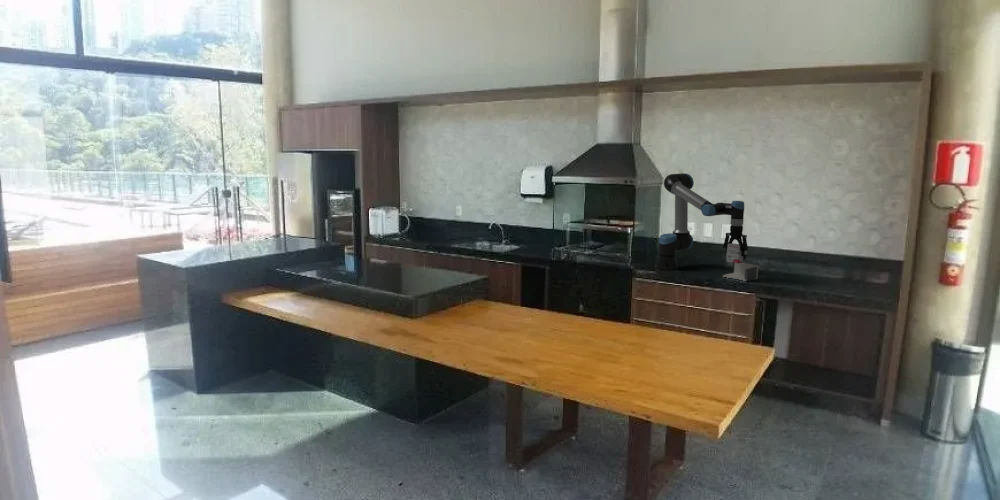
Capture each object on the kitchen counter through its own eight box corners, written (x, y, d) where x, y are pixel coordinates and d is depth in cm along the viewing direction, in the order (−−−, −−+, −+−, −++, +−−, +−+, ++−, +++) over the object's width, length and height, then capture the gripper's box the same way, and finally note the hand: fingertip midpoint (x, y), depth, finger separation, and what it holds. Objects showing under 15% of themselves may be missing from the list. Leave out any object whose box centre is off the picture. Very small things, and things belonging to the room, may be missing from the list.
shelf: (722, 277, 375) (723, 263, 373) (735, 274, 382) (736, 261, 380) (745, 282, 362) (746, 268, 360) (757, 279, 369) (758, 265, 367)
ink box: (742, 262, 372) (743, 244, 370) (738, 263, 369) (739, 245, 367) (730, 260, 378) (731, 242, 376) (726, 261, 375) (727, 243, 373)
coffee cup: (730, 273, 387) (731, 250, 384) (730, 270, 396) (732, 248, 393) (745, 274, 384) (747, 251, 381) (745, 271, 392) (747, 249, 389)
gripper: (718, 223, 376) (716, 258, 380) (748, 227, 358) (746, 263, 362) (725, 222, 380) (723, 256, 384) (755, 226, 362) (753, 262, 366)
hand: (734, 260), depth 373 cm, fingers closed on ink box, 9 cm apart
